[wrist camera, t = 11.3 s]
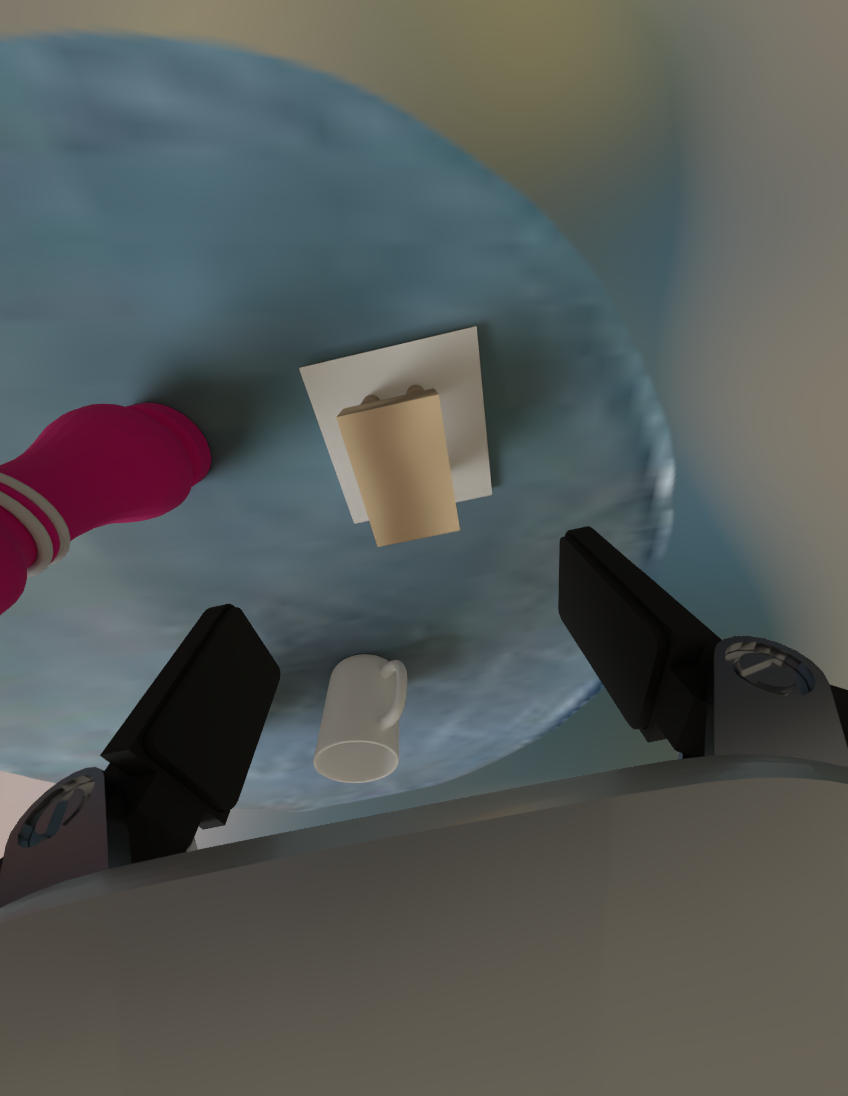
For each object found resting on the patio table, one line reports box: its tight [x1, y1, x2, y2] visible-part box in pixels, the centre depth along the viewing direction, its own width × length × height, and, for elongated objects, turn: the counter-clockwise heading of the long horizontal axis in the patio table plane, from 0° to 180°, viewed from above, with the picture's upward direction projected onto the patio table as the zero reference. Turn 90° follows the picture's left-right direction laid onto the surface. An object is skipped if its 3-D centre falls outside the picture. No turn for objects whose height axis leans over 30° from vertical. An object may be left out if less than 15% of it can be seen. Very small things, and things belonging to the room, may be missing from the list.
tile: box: [299, 326, 492, 524], centre depth 25 cm, size 12×12×1 cm
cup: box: [313, 654, 407, 783], centre depth 36 cm, size 8×12×10 cm
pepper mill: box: [0, 403, 211, 615], centre depth 16 cm, size 7×7×20 cm
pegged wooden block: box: [336, 385, 460, 547], centre depth 21 cm, size 5×8×8 cm, turn 11°
